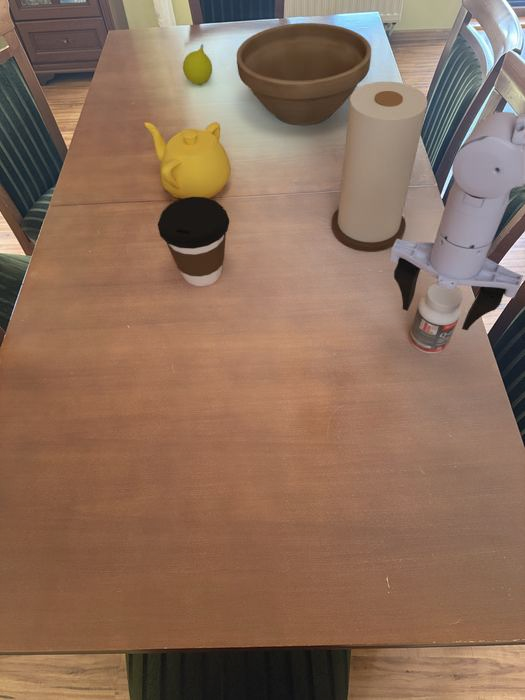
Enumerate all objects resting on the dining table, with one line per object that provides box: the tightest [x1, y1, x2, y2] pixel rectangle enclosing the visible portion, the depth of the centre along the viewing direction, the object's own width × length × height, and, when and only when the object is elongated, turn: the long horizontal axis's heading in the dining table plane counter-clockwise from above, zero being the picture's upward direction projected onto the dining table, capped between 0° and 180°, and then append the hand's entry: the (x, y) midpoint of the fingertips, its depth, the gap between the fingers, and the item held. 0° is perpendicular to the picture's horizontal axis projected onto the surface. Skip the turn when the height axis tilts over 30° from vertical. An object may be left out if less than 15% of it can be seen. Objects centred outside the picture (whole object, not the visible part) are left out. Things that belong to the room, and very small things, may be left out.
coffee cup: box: [157, 197, 230, 288], centre depth 81 cm, size 11×11×12 cm
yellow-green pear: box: [182, 43, 213, 85], centre depth 124 cm, size 7×7×10 cm
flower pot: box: [236, 22, 372, 126], centre depth 113 cm, size 28×28×13 cm
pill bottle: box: [409, 281, 464, 354], centre depth 72 cm, size 6×6×10 cm
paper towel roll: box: [331, 81, 428, 253], centre depth 83 cm, size 13×13×24 cm
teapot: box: [144, 121, 232, 199], centre depth 96 cm, size 14×14×12 cm
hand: (436, 314), depth 65 cm, fingers open, 7 cm apart
